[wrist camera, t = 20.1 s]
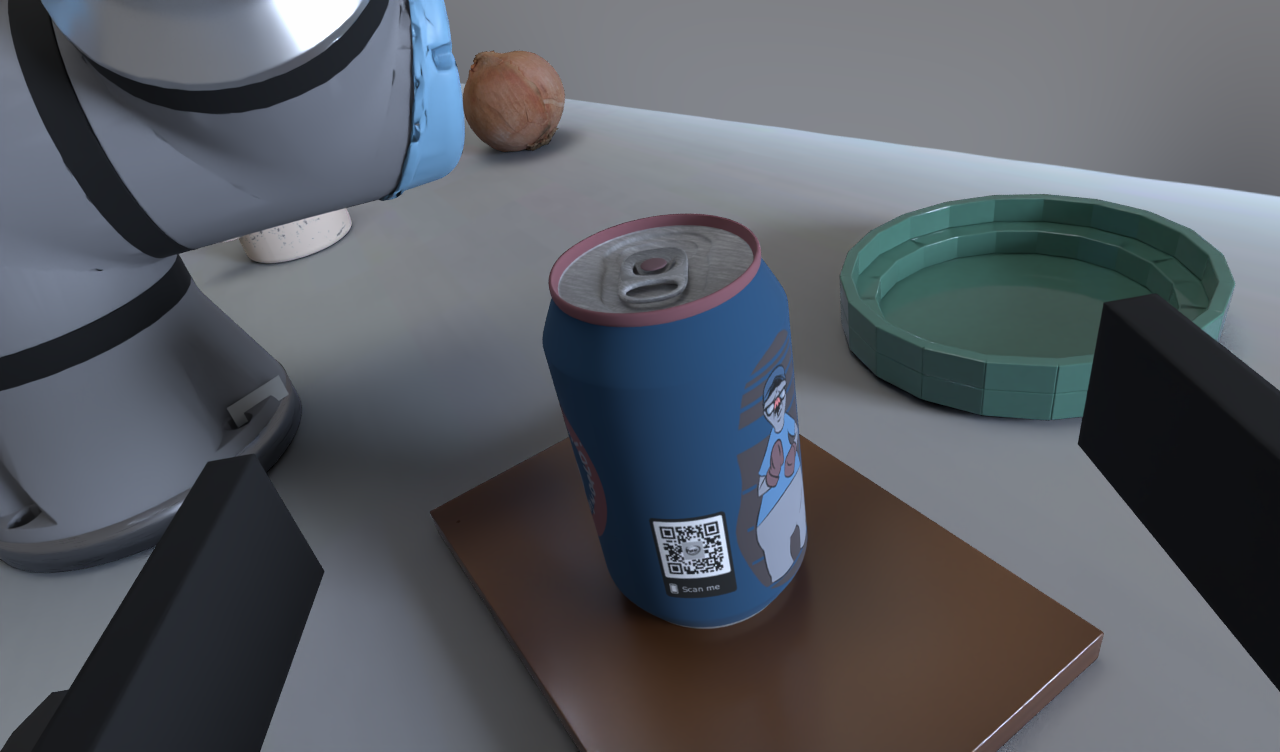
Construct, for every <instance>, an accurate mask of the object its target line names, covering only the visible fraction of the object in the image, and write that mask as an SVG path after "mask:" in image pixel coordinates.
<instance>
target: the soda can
mask: <svg viewBox="0 0 1280 752" xmlns="http://www.w3.org/2000/svg"><path fill="white" fill-rule="evenodd" d="M549 290H550V294H551V296H552V299H551V302H550V306H549V310H548V314H547V318H546V322H545V326H544V331H543V348H544V352H545V355H546V359H547V362H548V366H549V369H550V373H551V376H552V379H553V383H554V386H555V390H556V393H557V397H558V400H559V404H560V407H561V410H562V414H563V417H564V421H565V424H566V428H567V431H568V434H569V438H570V441H571V445H572V448H573V452H574V455H575V458H576V462H577V465H578V469H579V472H580V476H581V479H582V482H583V486H584V489H585V493H586V496H587V500H588V503H589V507H590V510H591V513H592V517H593V520H594V524H595V527H596V531H597V534H598V537H599V541H600V544H601V548H602V551H603V555H604V558H605V561H606V565H607V568H608V571H609V573H610V576H611V578H612V579H613V581H614V583H615V584H616V586H617V587H618V588H619V590H620V591H621V592H622V593H623V594H624V595H625V596H626V597H627V598H628V599H629V600H630V601H632V602H633V603H634V604H636V605H637V606H638V607H640V608H642V609H643V610H645V611H647V612H649V613H651V614H653V615H655V616H657V617H659V618H661V619H663V620H665V621H668V622H670V623H673V624H676V625H679V626H683V627H688V628H696V629H712V628H720V627H725V626H730V625H733V624H736V623H739V622H742V621H744V620H746V619H749V618H750V617H752V616H754V615H756V614H757V613H759V612H760V611H762V610H763V609H764V608H766V607H767V606H768V605H769V604H770V603H771V602H772V601H773V600H774V599H775V598H776V597H777V596H778V595H779V594H780V593H781V592H782V591H783V590H784V589H785V588H786V586H787V585H788V584H789V583H790V582H791V580H792V579H793V577H794V576H795V574H796V573H797V571H798V569H799V567H800V565H801V563H802V561H803V558H804V555H805V551H806V547H807V522H806V511H805V499H804V487H803V475H802V463H801V451H800V439H799V427H798V416H797V404H796V392H795V380H794V368H793V356H792V344H791V333H790V321H789V309H788V300H787V296H786V293H785V291H784V289H783V287H782V286H781V284H780V283H779V281H778V280H777V278H776V277H775V276H774V274H773V273H772V271H771V270H770V269H769V267H768V266H767V265H766V263H765V262H764V261H763V259H762V258H761V248H760V244H759V241H758V239H757V238H756V236H755V235H754V233H753V232H752V231H751V230H749V229H748V228H747V227H745V226H744V225H742V224H740V223H738V222H735V221H733V220H730V219H727V218H723V217H718V216H713V215H705V214H670V215H660V216H653V217H647V218H642V219H638V220H633V221H630V222H626V223H622V224H619V225H616V226H613V227H610V228H608V229H605V230H603V231H600V232H598V233H596V234H594V235H592V236H590V237H588V238H586V239H584V240H582V241H580V242H579V243H577V244H576V245H574V246H572V247H571V248H570V249H568V250H567V251H566V252H564V253H563V254H562V255H561V256H560V257H559V258H558V259H557V261H556V262H555V264H554V265H553V267H552V269H551V272H550V276H549Z"/></svg>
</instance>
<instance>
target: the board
mask: <svg viewBox="0 0 1280 752" xmlns="http://www.w3.org/2000/svg"><path fill="white" fill-rule="evenodd" d="M799 439H800V451H801V463H802V475H803V487H804V499H805V511H806V522H807V547H806V551H805V555H804V558H803V561H802V563H801V565H800V567H799V569H798V571H797V573H796V574H795V576H794V577H793V579H792V580H791V582H790V583H789V584H788V585H787V586H786V588H785V589H784V590H783V591H782V592H781V593H780V594H779V595H778V596H777V597H776V598H775V599H774V600H773V601H772V602H771V603H770V604H769V605H768V606H767V607H766V608H764V609H763V610H762V611H760V612H759V613H757V614H756V615H754V616H752V617H750V618H749V619H746V620H744V621H742V622H739V623H736V624H733V625H730V626H725V627H720V628H712V629H696V628H688V627H683V626H679V625H676V624H673V623H670V622H668V621H665V620H663V619H661V618H659V617H657V616H655V615H653V614H651V613H649V612H647V611H645V610H643V609H642V608H640V607H638V606H637V605H636V604H634V603H633V602H632V601H630V600H629V599H628V598H627V597H626V596H625V595H624V594H623V593H622V592H621V591H620V590H619V588H618V587H617V586H616V584H615V583H614V581H613V579H612V578H611V576H610V573H609V571H608V568H607V565H606V561H605V558H604V555H603V551H602V548H601V544H600V541H599V537H598V534H597V531H596V527H595V524H594V520H593V517H592V513H591V510H590V507H589V503H588V500H587V496H586V493H585V489H584V486H583V482H582V479H581V476H580V472H579V469H578V465H577V462H576V458H575V455H574V452H573V448H572V445H571V441H570V438H569V437H568V438H566V439H564V440H562V441H560V442H558V443H557V444H555V445H553V446H551V447H549V448H547V449H545V450H544V451H542V452H540V453H538V454H536V455H534V456H532V457H531V458H529V459H527V460H525V461H523V462H521V463H519V464H517V465H516V466H514V467H512V468H510V469H508V470H506V471H504V472H503V473H501V474H499V475H497V476H495V477H493V478H491V479H490V480H488V481H486V482H484V483H482V484H480V485H478V486H477V487H475V488H473V489H471V490H469V491H467V492H465V493H463V494H462V495H460V496H458V497H456V498H454V499H452V500H450V501H449V502H447V503H445V504H443V505H441V506H439V507H437V508H436V509H434V510H432V511H430V514H431V517H432V519H433V521H434V523H435V525H436V528H437V530H438V532H439V533H440V535H441V536H442V538H443V540H444V541H445V543H446V544H447V546H448V547H449V549H450V550H451V552H452V553H453V555H454V557H455V558H456V560H457V561H458V563H459V564H460V566H461V567H462V569H463V571H464V572H465V574H466V575H467V577H468V578H469V580H470V581H471V583H472V584H473V586H474V588H475V589H476V591H477V592H478V594H479V595H480V597H481V598H482V600H483V602H484V603H485V605H486V606H487V608H488V609H489V611H490V612H491V614H492V615H493V617H494V619H495V620H496V622H497V623H498V625H499V626H500V628H501V629H502V631H503V633H504V634H505V636H506V637H507V639H508V640H509V642H510V643H511V645H512V646H513V648H514V650H515V651H516V653H517V654H518V656H519V657H520V659H521V660H522V662H523V664H524V665H525V667H526V668H527V670H528V671H529V673H530V674H531V676H532V677H533V679H534V681H535V682H536V684H537V685H538V687H539V688H540V690H541V691H542V693H543V695H544V696H545V698H546V699H547V701H548V702H549V704H550V705H551V707H552V709H553V710H554V712H555V713H556V715H557V716H558V718H559V719H560V721H561V722H562V724H563V726H564V727H565V729H566V730H567V732H568V733H569V735H570V736H571V738H572V740H573V741H574V743H575V744H576V746H577V747H578V749H579V750H580V752H996V751H997V750H998V749H999V748H1000V747H1002V746H1003V745H1004V744H1005V743H1006V742H1007V741H1008V740H1009V739H1010V738H1011V737H1012V736H1013V735H1015V734H1016V733H1017V732H1018V731H1019V730H1020V729H1021V728H1022V727H1023V726H1024V725H1025V724H1026V723H1027V722H1029V721H1030V720H1031V719H1032V718H1033V717H1034V716H1035V715H1036V714H1037V713H1038V712H1039V711H1040V710H1042V709H1043V708H1044V707H1045V706H1046V705H1047V704H1048V703H1049V702H1050V701H1051V700H1052V699H1053V698H1055V697H1056V696H1057V695H1058V694H1059V693H1060V692H1061V691H1062V690H1063V689H1064V688H1065V687H1066V686H1068V685H1069V684H1070V683H1071V682H1072V681H1073V680H1074V679H1075V678H1076V677H1077V676H1078V675H1079V674H1081V673H1082V672H1083V671H1084V670H1085V669H1086V668H1087V667H1088V666H1089V665H1090V664H1091V663H1092V662H1093V661H1095V660H1096V659H1097V658H1098V655H1099V651H1100V647H1101V643H1102V639H1103V635H1104V633H1103V632H1102V631H1101V630H1099V629H1098V628H1096V627H1095V626H1093V625H1092V624H1090V623H1088V622H1087V621H1085V620H1084V619H1082V618H1081V617H1079V616H1078V615H1076V614H1075V613H1073V612H1072V611H1070V610H1069V609H1067V608H1065V607H1064V606H1062V605H1061V604H1059V603H1058V602H1056V601H1055V600H1053V599H1052V598H1050V597H1049V596H1047V595H1045V594H1044V593H1042V592H1041V591H1039V590H1038V589H1036V588H1035V587H1033V586H1032V585H1030V584H1029V583H1027V582H1026V581H1024V580H1022V579H1021V578H1019V577H1018V576H1016V575H1015V574H1013V573H1012V572H1010V571H1009V570H1007V569H1006V568H1004V567H1003V566H1001V565H999V564H998V563H996V562H995V561H993V560H992V559H990V558H989V557H987V556H986V555H984V554H983V553H981V552H980V551H978V550H976V549H975V548H973V547H972V546H970V545H969V544H967V543H966V542H964V541H963V540H961V539H960V538H958V537H957V536H955V535H953V534H952V533H950V532H949V531H947V530H946V529H944V528H943V527H941V526H940V525H938V524H937V523H935V522H934V521H932V520H930V519H929V518H927V517H926V516H924V515H923V514H921V513H920V512H918V511H917V510H915V509H914V508H912V507H910V506H909V505H907V504H906V503H904V502H903V501H901V500H900V499H898V498H897V497H895V496H894V495H892V494H891V493H889V492H887V491H886V490H884V489H883V488H881V487H880V486H878V485H877V484H875V483H874V482H872V481H871V480H869V479H868V478H866V477H864V476H863V475H861V474H860V473H858V472H857V471H855V470H854V469H852V468H851V467H849V466H848V465H846V464H845V463H843V462H841V461H840V460H838V459H837V458H835V457H834V456H832V455H831V454H829V453H828V452H826V451H825V450H823V449H822V448H820V447H818V446H817V445H815V444H814V443H812V442H811V441H809V440H808V439H806V438H805V437H803V436H802V435H800V434H799Z"/></svg>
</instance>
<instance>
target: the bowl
mask: <svg viewBox="0 0 1280 752" xmlns="http://www.w3.org/2000/svg"><path fill="white" fill-rule="evenodd" d="M1234 288H1235V281H1234V279H1233V276H1232V274H1231V272H1230V269H1229V267H1228V264H1227V262H1226V260H1225V257H1224V255H1223V254H1222V253H1221V252H1220V251H1218V250H1217V249H1216V248H1215V247H1213V246H1212V245H1211V244H1210V243H1208V242H1207V241H1206V240H1205V239H1203V238H1202V237H1201V236H1200V235H1198V234H1197V233H1196V232H1195V231H1193V230H1192V229H1190V228H1187V227H1185V226H1183V225H1180V224H1178V223H1175V222H1173V221H1171V220H1168V219H1166V218H1164V217H1161V216H1159V215H1157V214H1154V213H1152V212H1149V211H1146V210H1142V209H1137V208H1133V207H1129V206H1125V205H1120V204H1116V203H1112V202H1108V201H1103V200H1098V199H1090V198H1079V197H1069V196H1059V195H1049V194H1046V195H1045V194H1026V195H994V196H993V195H991V196H984V197H977V198H970V199H963V200H956V201H949V202H946V203H945V202H944V203H940V204H937V205H933V206H930V207H927V208H923V209H920V210H916V211H913V212H909V213H906V214H904V215H901V216H899V217H897V218H895V219H893V220H891V221H889V222H887V223H885V224H883V225H881V226H879V227H877V228H875V229H873V230H871V231H870V232H868V233H867V234H866V235H865V236H864V237H863V238H862V239H861V240H860V241H859V242H858V243H857V244H856V245H855V246H854V247H853V248H852V249H851V250H850V251H849V252H848V253H847V256H846V259H845V262H844V265H843V268H842V271H841V274H840V299H841V300H840V304H841V323H842V326H843V329H844V333H845V336H846V339H847V342H848V345H849V348H850V350H851V351H852V352H853V353H854V354H855V355H856V356H857V357H858V358H859V359H860V360H861V361H862V362H863V363H864V364H865V365H866V366H867V367H868V368H869V369H870V370H871V371H872V372H873V373H874V374H875V375H877V377H879V378H881V379H883V380H885V381H887V382H889V383H891V384H893V385H895V386H897V387H899V388H901V389H902V390H904V391H906V392H908V393H910V394H912V395H914V396H916V397H918V398H920V399H922V400H926V401H930V402H934V403H938V404H941V405H945V406H949V407H953V408H956V409H960V410H964V411H968V412H971V413H975V414H979V415H981V414H982V415H986V416H998V417H1011V418H1024V419H1037V420H1050V419H1051V420H1057V419H1067V418H1076V417H1083V413H1084V407H1085V402H1086V396H1087V391H1088V385H1089V380H1090V374H1091V369H1092V364H1093V358H1094V353H1095V347H1096V342H1097V336H1098V331H1099V325H1100V320H1101V314H1102V309H1103V303H1104V302H1109V301H1114V300H1120V299H1125V298H1131V297H1137V296H1142V295H1148V294H1154V293H1157V294H1158V295H1159V296H1161V297H1162V298H1163V299H1164V300H1166V301H1167V302H1168V303H1169V304H1171V305H1172V306H1173V307H1175V308H1176V309H1177V310H1178V311H1180V312H1181V313H1182V314H1183V315H1185V316H1186V317H1187V318H1188V319H1190V320H1191V321H1192V322H1193V323H1195V324H1196V325H1197V326H1198V327H1200V328H1201V329H1202V330H1204V331H1205V332H1206V333H1207V334H1209V335H1210V336H1211V337H1212V338H1214V339H1215V340H1216V341H1217V342H1219V340H1220V337H1221V334H1222V331H1223V327H1224V323H1225V320H1226V316H1227V312H1228V309H1229V306H1230V302H1231V299H1232V295H1233V291H1234Z"/></svg>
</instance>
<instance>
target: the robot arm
mask: <svg viewBox="0 0 1280 752" xmlns="http://www.w3.org/2000/svg"><path fill="white" fill-rule="evenodd" d="M451 50H452V43H451V36H450V28H449V21H448V17H447V12H446V8H445V4H444V0H0V558H1V559H2V560H3V561H4V562H6V563H7V564H9V565H11V566H13V567H15V568H18V569H22V570H26V571H32V572H64V571H72V570H78V569H84V568H89V567H93V566H97V565H101V564H105V563H108V562H112V561H115V560H118V559H121V558H124V557H127V556H130V555H133V554H136V553H138V552H141V551H143V550H146V549H148V548H151V547H153V546H155V545H157V546H156V547H155V549H154V550H153V552H152V554H151V555H150V557H149V559H148V560H147V562H146V564H145V565H144V567H143V569H142V570H141V572H140V573H139V575H138V577H137V578H136V580H135V582H134V583H133V585H132V587H131V588H130V590H129V592H128V593H127V595H126V596H125V598H124V600H123V601H122V603H121V605H120V606H119V608H118V610H117V611H116V613H115V615H114V616H113V618H112V619H111V621H110V623H109V624H108V626H107V628H106V629H105V631H104V633H103V634H102V636H101V638H100V639H99V641H98V642H97V644H96V646H95V647H94V649H93V651H92V652H91V654H90V656H89V657H88V659H87V661H86V662H85V664H84V665H83V667H82V669H81V670H80V672H79V674H78V675H77V677H76V679H75V680H74V682H73V684H72V685H71V687H70V688H69V690H64V691H58V692H52V693H51V694H50V695H49V696H48V697H47V698H46V699H45V700H44V701H43V702H42V703H41V704H40V705H39V706H38V707H37V708H36V709H35V710H34V711H33V712H32V713H31V714H30V715H29V716H28V717H27V718H26V719H25V720H24V721H23V723H22V724H21V725H20V726H19V727H18V728H17V729H16V730H15V731H14V732H13V733H12V734H11V736H10V737H9V739H8V740H7V742H6V744H5V745H4V747H3V748H2V750H1V751H0V752H260V750H261V747H262V745H263V742H264V739H265V736H266V733H267V731H268V728H269V725H270V722H271V719H272V717H273V714H274V711H275V708H276V705H277V703H278V700H279V697H280V694H281V691H282V689H283V686H284V683H285V680H286V677H287V675H288V672H289V669H290V666H291V663H292V661H293V658H294V655H295V652H296V649H297V647H298V644H299V641H300V638H301V635H302V633H303V630H304V627H305V624H306V621H307V619H308V616H309V613H310V610H311V607H312V605H313V602H314V599H315V596H316V593H317V591H318V588H319V585H320V582H321V580H322V577H323V574H324V570H323V568H322V566H321V565H320V563H319V561H318V560H317V558H316V556H315V555H314V553H313V551H312V549H311V548H310V546H309V544H308V543H307V541H306V539H305V538H304V536H303V534H302V533H301V531H300V529H299V528H298V526H297V524H296V523H295V521H294V519H293V518H292V516H291V514H290V513H289V511H288V509H287V507H286V506H285V504H284V502H283V501H282V499H281V497H280V496H279V494H278V492H277V491H276V489H275V487H274V486H273V484H272V482H271V481H270V479H269V477H268V476H267V474H266V472H267V471H268V470H269V469H270V468H271V467H272V466H273V464H274V463H275V462H276V461H277V460H278V459H279V458H280V456H281V455H282V454H283V452H284V451H285V450H286V448H287V447H288V445H289V444H290V442H291V441H292V439H293V437H294V435H295V433H296V431H297V428H298V426H299V423H300V419H301V410H302V407H301V401H300V398H299V396H298V394H297V392H296V390H295V388H294V386H293V384H292V382H291V380H290V379H289V377H288V375H287V373H286V371H285V369H284V368H283V366H282V365H281V364H280V363H279V362H278V361H277V360H276V359H274V358H273V357H272V356H271V355H270V354H269V353H268V352H267V351H266V350H265V349H263V348H262V347H261V346H260V345H259V344H258V343H257V342H256V341H255V340H254V339H253V338H251V337H250V336H249V335H248V334H247V333H246V332H245V331H244V330H243V329H242V328H241V327H239V326H238V325H237V324H236V323H235V322H234V321H233V320H232V319H231V318H230V317H228V316H227V315H226V314H225V313H224V312H223V311H222V310H221V309H220V308H219V307H218V306H216V305H215V304H214V303H213V302H212V301H211V300H210V299H209V298H208V297H207V296H206V295H204V294H203V293H202V292H201V291H200V289H199V288H198V287H197V285H196V284H195V282H194V280H193V279H192V277H191V275H190V274H189V272H188V270H187V268H186V267H185V265H184V263H183V261H182V259H181V258H180V256H179V254H180V253H183V252H187V251H190V250H195V249H198V248H201V247H205V246H208V245H212V244H216V243H219V242H223V241H226V240H230V239H234V238H237V237H241V236H244V235H248V234H252V233H255V232H259V231H263V230H266V229H270V228H273V227H277V226H281V225H284V224H288V223H291V222H295V221H299V220H302V219H306V218H310V217H313V216H317V215H321V214H325V213H329V212H333V211H337V210H340V209H344V208H348V207H352V206H356V205H360V204H364V203H367V202H371V201H375V200H381V201H385V200H390V199H394V198H397V197H398V196H400V195H401V194H402V193H403V192H404V191H405V190H408V189H411V188H414V187H417V186H420V185H423V184H426V183H429V182H432V181H435V180H438V179H440V178H443V177H444V176H446V175H447V174H449V173H450V172H451V171H452V170H453V169H454V168H455V166H456V165H457V163H458V162H459V159H460V157H461V154H462V151H463V146H464V136H465V126H464V110H463V100H462V92H461V85H460V79H459V74H458V68H457V65H456V62H455V59H454V56H453V54H452V52H451ZM1078 445H1079V446H1080V447H1081V448H1082V450H1083V451H1084V452H1085V453H1086V455H1087V456H1088V457H1089V458H1090V460H1091V461H1092V462H1093V463H1094V464H1095V466H1096V467H1097V468H1098V469H1099V471H1100V472H1101V473H1102V474H1103V475H1104V477H1105V478H1106V479H1107V480H1108V482H1109V483H1110V484H1111V485H1112V486H1113V488H1114V489H1115V490H1116V491H1117V493H1118V494H1119V495H1120V496H1121V498H1122V499H1123V500H1124V501H1125V502H1126V504H1127V505H1128V506H1129V507H1130V509H1131V510H1132V511H1133V512H1134V513H1135V515H1136V516H1137V517H1138V518H1139V520H1140V521H1141V522H1142V523H1143V525H1144V526H1145V527H1146V528H1147V529H1148V531H1149V532H1150V533H1151V534H1152V536H1153V537H1154V538H1155V539H1156V540H1157V542H1158V543H1159V544H1160V545H1161V547H1162V548H1163V549H1164V550H1165V552H1166V553H1167V554H1168V555H1169V556H1170V558H1171V559H1172V560H1173V561H1174V563H1175V564H1176V565H1177V566H1178V567H1179V569H1180V570H1181V571H1182V572H1183V574H1184V575H1185V576H1186V577H1187V578H1188V580H1189V581H1190V582H1191V583H1192V585H1193V586H1194V587H1195V588H1196V590H1197V591H1198V592H1199V593H1200V594H1201V596H1202V597H1203V598H1204V599H1205V601H1206V602H1207V603H1208V604H1209V605H1210V607H1211V608H1212V609H1213V610H1214V612H1215V613H1216V614H1217V615H1218V617H1219V618H1220V619H1221V620H1222V621H1223V623H1224V624H1225V625H1226V626H1227V628H1228V629H1229V630H1230V631H1231V632H1232V634H1233V635H1234V636H1235V637H1236V639H1237V640H1238V641H1239V642H1240V643H1241V645H1242V646H1243V647H1244V648H1245V650H1246V651H1247V652H1248V653H1249V655H1250V656H1251V657H1252V658H1253V659H1254V661H1255V662H1256V663H1257V664H1258V666H1259V667H1260V668H1261V669H1262V670H1263V672H1264V673H1265V674H1266V675H1267V677H1268V678H1269V679H1270V680H1271V682H1272V683H1273V684H1274V685H1275V686H1276V688H1277V689H1278V690H1279V691H1280V391H1279V390H1278V389H1277V388H1275V387H1274V386H1273V385H1272V384H1270V383H1269V382H1268V381H1267V380H1265V379H1264V378H1263V377H1261V376H1260V375H1259V374H1258V373H1256V372H1255V371H1254V370H1253V369H1251V368H1250V367H1249V366H1248V365H1246V364H1245V363H1244V362H1243V361H1241V360H1240V359H1239V358H1238V357H1236V356H1235V355H1234V354H1233V353H1231V352H1230V351H1229V350H1227V349H1226V348H1225V347H1224V346H1222V345H1221V344H1220V343H1219V342H1217V341H1216V340H1215V339H1214V338H1212V337H1211V336H1210V335H1209V334H1207V333H1206V332H1205V331H1204V330H1202V329H1201V328H1200V327H1198V326H1197V325H1196V324H1195V323H1193V322H1192V321H1191V320H1190V319H1188V318H1187V317H1186V316H1185V315H1183V314H1182V313H1181V312H1180V311H1178V310H1177V309H1176V308H1175V307H1173V306H1172V305H1171V304H1169V303H1168V302H1167V301H1166V300H1164V299H1163V298H1162V297H1161V296H1159V295H1158V294H1157V293H1154V294H1148V295H1142V296H1137V297H1131V298H1125V299H1120V300H1114V301H1109V302H1104V303H1103V309H1102V314H1101V320H1100V325H1099V331H1098V336H1097V342H1096V347H1095V353H1094V358H1093V364H1092V369H1091V374H1090V380H1089V385H1088V391H1087V396H1086V402H1085V407H1084V413H1083V418H1082V424H1081V429H1080V435H1079V440H1078Z"/></svg>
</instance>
